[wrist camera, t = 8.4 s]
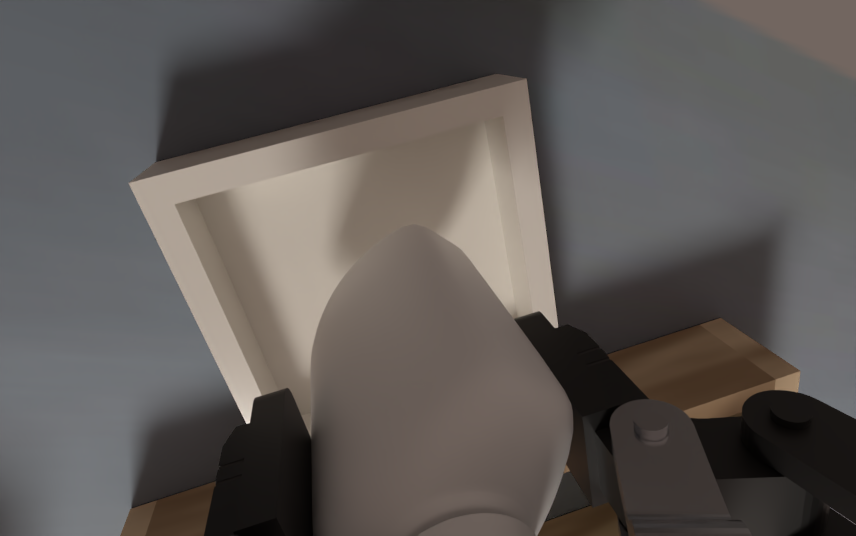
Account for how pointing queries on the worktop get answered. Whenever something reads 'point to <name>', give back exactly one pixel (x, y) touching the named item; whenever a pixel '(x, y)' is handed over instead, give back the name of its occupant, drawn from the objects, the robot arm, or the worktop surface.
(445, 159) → the tray
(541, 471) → the eye dropper bottle
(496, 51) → the worktop surface
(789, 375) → the rack
